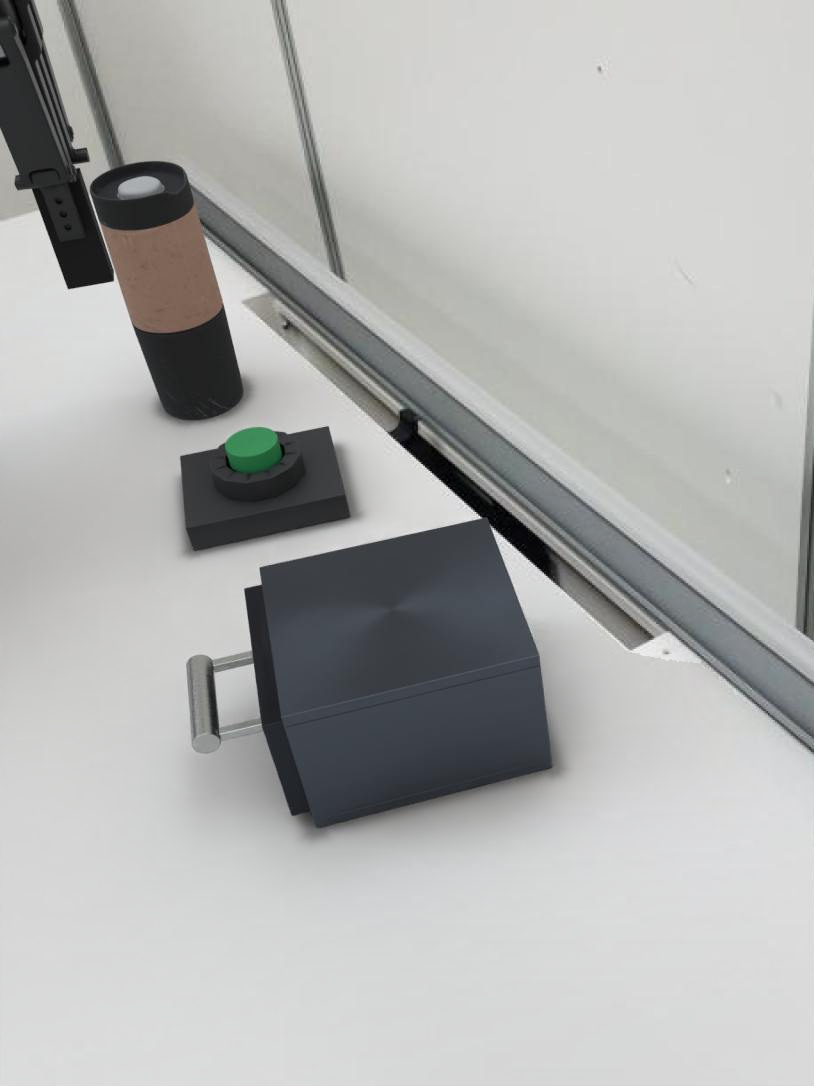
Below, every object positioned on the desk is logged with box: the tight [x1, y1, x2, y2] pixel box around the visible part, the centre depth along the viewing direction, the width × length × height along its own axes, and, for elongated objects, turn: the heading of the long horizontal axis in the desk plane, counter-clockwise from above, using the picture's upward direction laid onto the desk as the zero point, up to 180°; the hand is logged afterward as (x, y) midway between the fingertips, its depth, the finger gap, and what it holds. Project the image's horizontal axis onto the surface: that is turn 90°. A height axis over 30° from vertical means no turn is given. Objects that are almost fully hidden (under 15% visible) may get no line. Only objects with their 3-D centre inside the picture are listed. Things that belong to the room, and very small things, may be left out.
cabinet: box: [258, 517, 553, 829], centre depth 79 cm, size 15×14×10 cm
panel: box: [179, 425, 351, 551], centre depth 100 cm, size 12×10×4 cm
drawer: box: [185, 584, 311, 817], centre depth 78 cm, size 18×12×8 cm
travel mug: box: [89, 160, 244, 421], centre depth 106 cm, size 8×8×20 cm
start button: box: [225, 426, 282, 473], centre depth 98 cm, size 4×4×2 cm
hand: (91, 279), depth 78 cm, fingers closed
